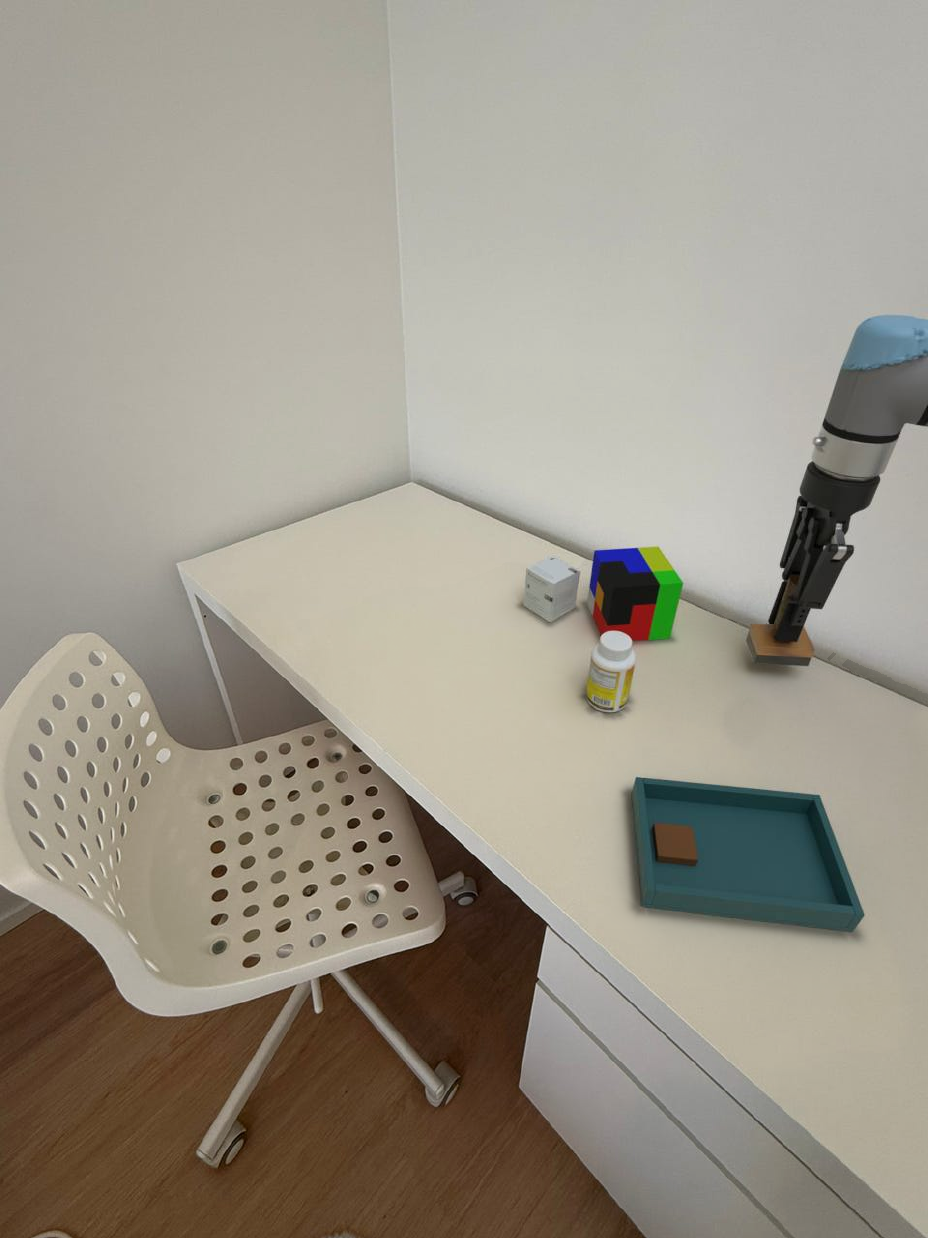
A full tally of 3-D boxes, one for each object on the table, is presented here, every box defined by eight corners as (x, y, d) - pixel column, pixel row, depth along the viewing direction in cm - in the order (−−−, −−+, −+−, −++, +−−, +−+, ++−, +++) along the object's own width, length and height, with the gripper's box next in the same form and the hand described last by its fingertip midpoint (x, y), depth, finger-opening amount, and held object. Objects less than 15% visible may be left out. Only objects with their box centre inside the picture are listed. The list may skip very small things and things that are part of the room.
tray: (810, 812, 72) (819, 794, 70) (852, 932, 61) (865, 915, 59) (631, 794, 74) (635, 776, 72) (642, 907, 63) (647, 890, 61)
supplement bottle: (618, 683, 89) (629, 624, 83) (633, 711, 84) (646, 651, 78) (579, 687, 88) (587, 628, 82) (592, 717, 84) (602, 657, 77)
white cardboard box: (522, 606, 103) (524, 567, 99) (548, 592, 106) (552, 553, 102) (550, 623, 99) (554, 584, 95) (576, 608, 103) (581, 569, 98)
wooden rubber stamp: (798, 643, 91) (823, 570, 83) (808, 666, 87) (836, 592, 80) (745, 640, 92) (767, 568, 84) (754, 663, 88) (777, 590, 80)
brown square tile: (690, 833, 69) (692, 826, 68) (696, 866, 66) (698, 860, 65) (651, 829, 70) (653, 822, 69) (656, 862, 66) (658, 855, 66)
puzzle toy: (586, 604, 104) (594, 550, 98) (647, 599, 104) (658, 546, 98) (604, 643, 96) (613, 587, 90) (669, 638, 96) (683, 582, 90)
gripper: (791, 438, 79) (741, 595, 94) (832, 497, 67) (767, 668, 81) (855, 442, 78) (795, 599, 93) (909, 502, 66) (830, 673, 80)
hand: (782, 631), depth 87 cm, fingers closed on wooden rubber stamp, 3 cm apart
